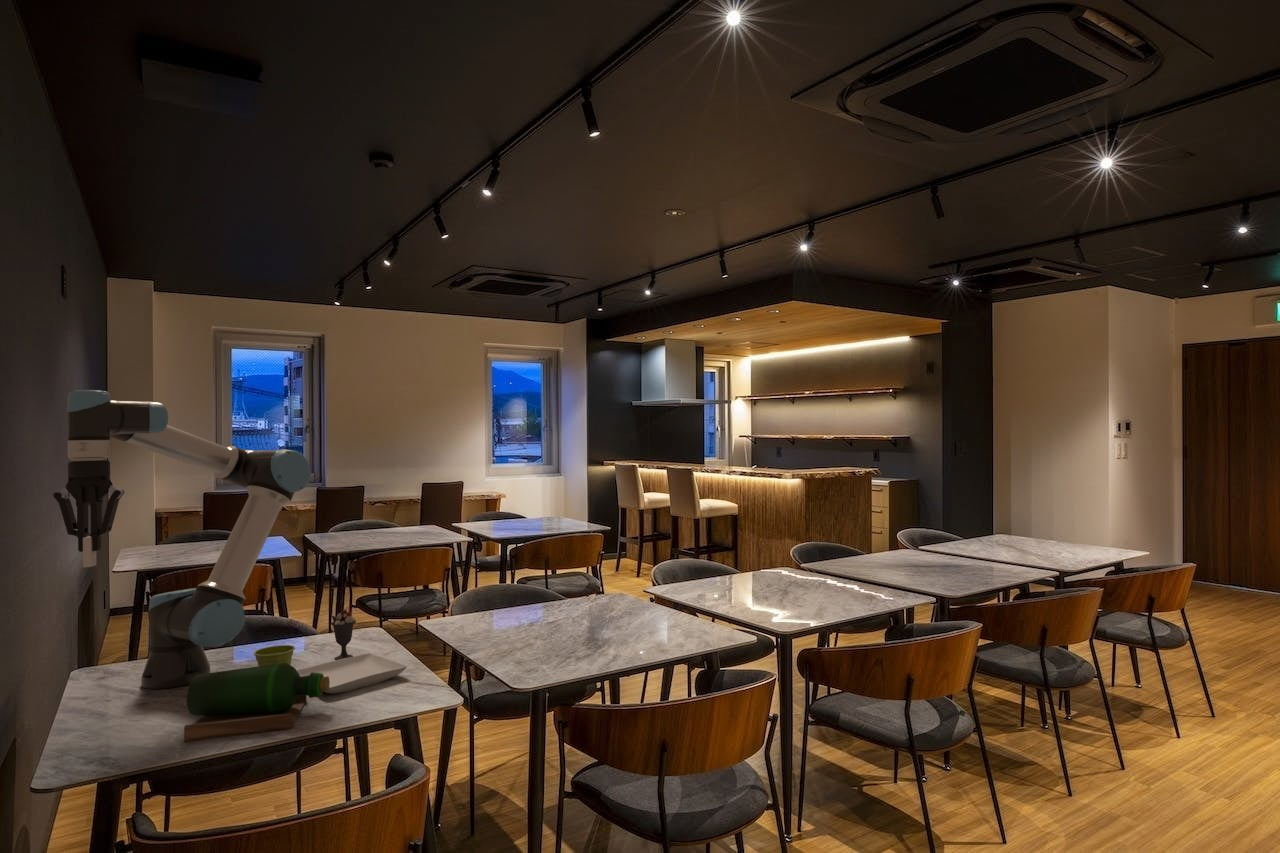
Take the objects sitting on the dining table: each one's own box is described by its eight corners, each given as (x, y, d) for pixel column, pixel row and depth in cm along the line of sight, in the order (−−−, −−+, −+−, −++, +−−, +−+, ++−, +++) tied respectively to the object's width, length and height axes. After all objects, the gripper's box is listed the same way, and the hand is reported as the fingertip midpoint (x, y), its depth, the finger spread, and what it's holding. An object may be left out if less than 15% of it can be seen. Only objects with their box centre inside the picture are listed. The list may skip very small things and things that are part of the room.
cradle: (211, 711, 165) (211, 697, 165) (306, 700, 170) (306, 687, 170) (184, 741, 148) (184, 726, 148) (291, 729, 153) (291, 714, 153)
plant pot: (247, 686, 182) (246, 651, 182) (284, 676, 190) (283, 642, 190) (265, 693, 176) (264, 657, 177) (302, 682, 184) (302, 648, 184)
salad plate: (290, 683, 184) (289, 670, 184) (369, 663, 200) (369, 651, 200) (326, 702, 170) (326, 687, 170) (409, 679, 185) (408, 665, 186)
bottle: (201, 719, 163) (332, 706, 168) (180, 723, 153) (320, 710, 158) (205, 669, 166) (334, 658, 171) (185, 670, 156) (322, 659, 161)
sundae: (361, 656, 206) (360, 603, 207) (340, 662, 200) (340, 608, 201) (347, 653, 210) (346, 601, 210) (326, 659, 204) (325, 605, 204)
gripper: (45, 460, 156) (46, 571, 155) (115, 459, 159) (116, 566, 159) (63, 460, 163) (63, 565, 162) (129, 458, 166) (130, 561, 166)
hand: (89, 566), depth 160 cm, fingers closed
